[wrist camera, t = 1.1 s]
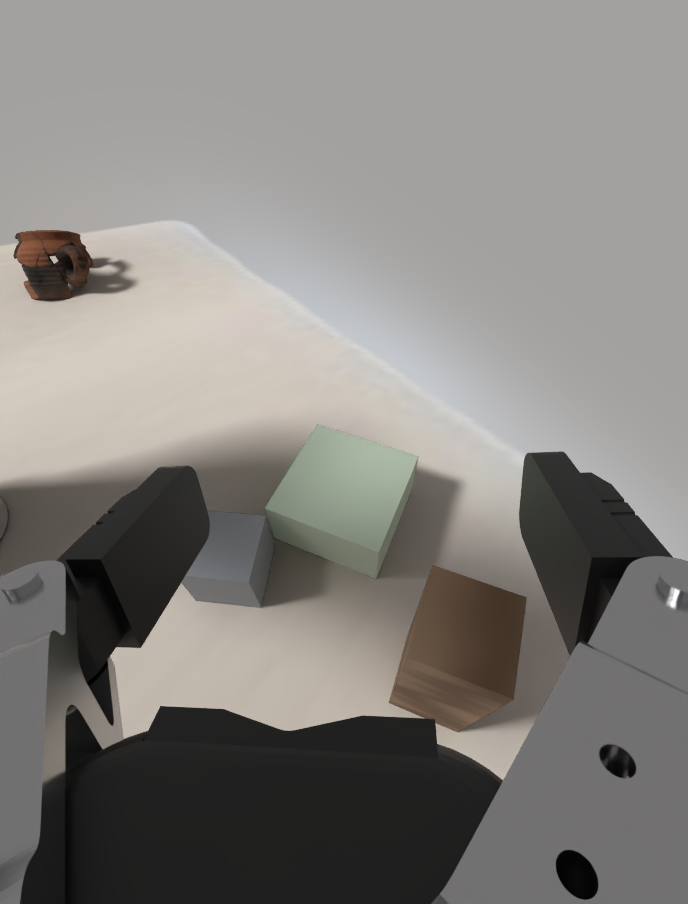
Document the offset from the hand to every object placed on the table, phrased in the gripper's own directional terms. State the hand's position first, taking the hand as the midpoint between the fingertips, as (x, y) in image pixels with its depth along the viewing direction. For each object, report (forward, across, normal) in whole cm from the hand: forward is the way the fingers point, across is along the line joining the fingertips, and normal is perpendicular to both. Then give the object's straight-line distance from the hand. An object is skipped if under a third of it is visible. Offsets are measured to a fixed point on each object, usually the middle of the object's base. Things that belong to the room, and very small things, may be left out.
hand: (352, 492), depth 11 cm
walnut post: (+10, -2, +21) cm, 24 cm away
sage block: (+22, +4, +16) cm, 27 cm away
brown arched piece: (+51, +44, -4) cm, 68 cm away
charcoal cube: (+16, +12, +17) cm, 26 cm away
